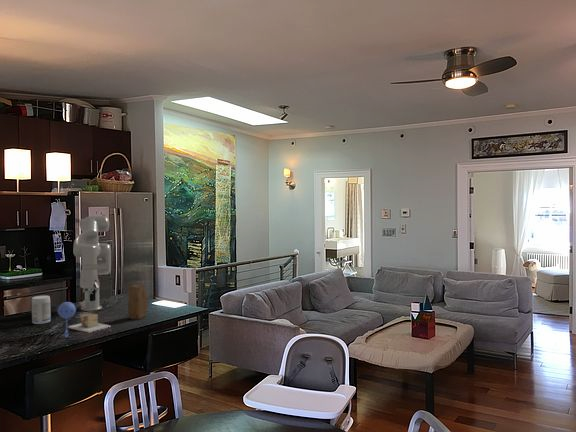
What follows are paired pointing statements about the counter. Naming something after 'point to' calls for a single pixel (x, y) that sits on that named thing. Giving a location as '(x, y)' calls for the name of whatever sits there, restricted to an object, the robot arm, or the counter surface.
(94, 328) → the plan board
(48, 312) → the supplement tub
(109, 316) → the counter surface
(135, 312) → the block
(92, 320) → the oak cube
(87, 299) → the sage drum
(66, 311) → the baby rattle
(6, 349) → the counter surface
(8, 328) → the counter surface
